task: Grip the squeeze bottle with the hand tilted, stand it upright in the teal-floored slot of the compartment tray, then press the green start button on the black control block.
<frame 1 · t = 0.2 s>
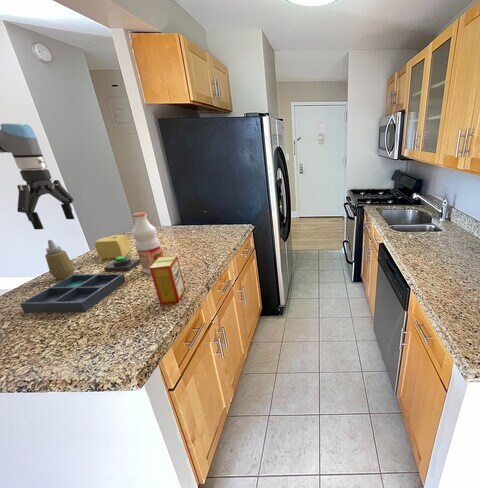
hand: (55, 223, 104), 27 cm above the countertop, tool pointing down, fingers open, 13 cm apart
compartment tray: (80, 295, 104), on the countertop
fruit juice: (155, 269, 125), on the countertop
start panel: (123, 267, 127), on the countertop
squeeze bottle: (65, 277, 118), on the countertop
cheese: (116, 255, 141), on the countertop
baking soda box: (173, 297, 103), on the countertop
start button: (120, 259, 125), point 4 cm above the countertop, slide at 0.1 cm
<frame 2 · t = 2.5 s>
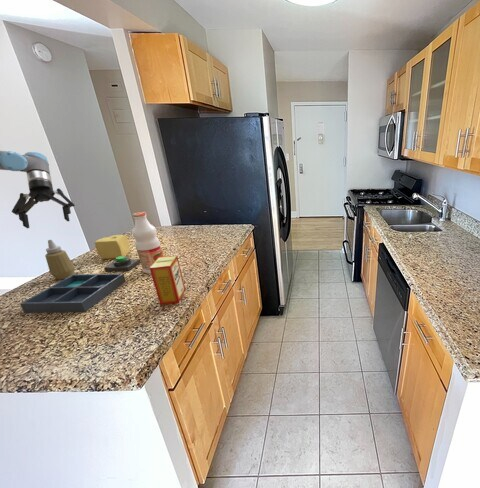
hand: (47, 223, 115), 24 cm above the countertop, tool tilted 40°, fingers open, 13 cm apart
nothing on the countertop moved.
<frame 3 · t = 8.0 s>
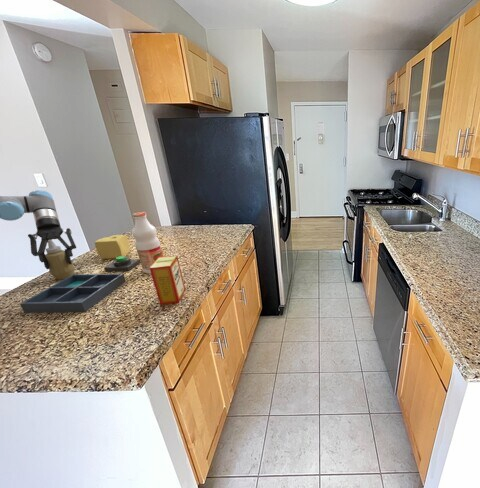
hand: (58, 265, 113), 7 cm above the countertop, tool tilted 45°, fingers closed on squeeze bottle, 6 cm apart
squeeze bottle: (65, 277, 118), on the countertop, touching gripper
everything else where it was.
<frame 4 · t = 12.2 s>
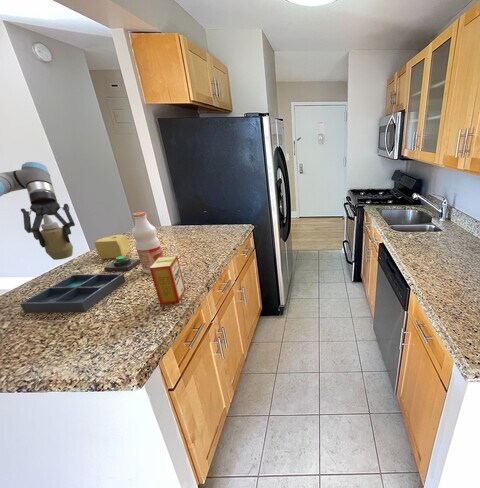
hand: (55, 243, 101), 20 cm above the countertop, tool tilted 45°, fingers closed on squeeze bottle, 6 cm apart
squeeze bottle: (63, 257, 107), point 13 cm above the countertop, touching gripper
everything else where it was.
when the fingers open (8 cm above the countertop, at t = 16.5 s): squeeze bottle stays where it is, resting on compartment tray.
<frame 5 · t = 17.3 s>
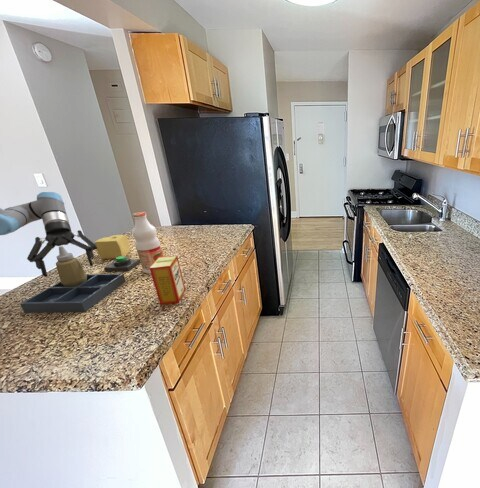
hand: (69, 270, 103), 10 cm above the countertop, tool tilted 45°, fingers open, 13 cm apart
squeeze bottle: (77, 286, 108), point 1 cm above the countertop, touching compartment tray
everything else where it was.
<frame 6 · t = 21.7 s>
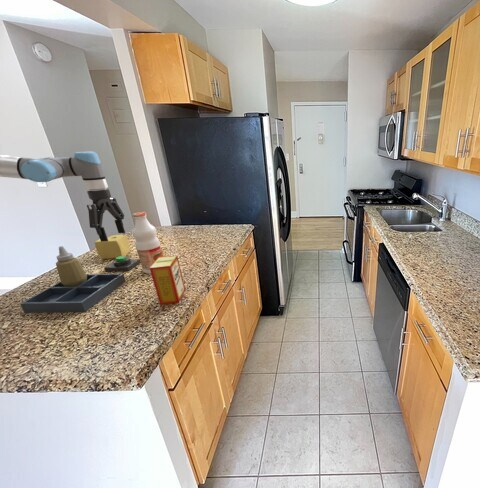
hand: (113, 236, 121), 16 cm above the countertop, tool pointing down, fingers open, 10 cm apart
nothing on the countertop moved.
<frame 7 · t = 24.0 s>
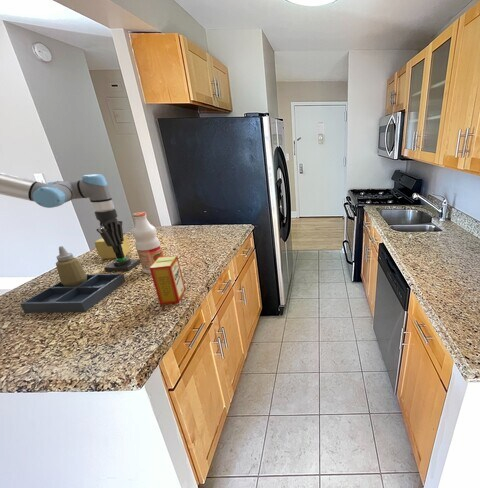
hand: (120, 257, 125), 5 cm above the countertop, tool pointing down, fingers closed
start button: (121, 259, 125), point 4 cm above the countertop, slide at -0.3 cm, touching gripper
everything else where it was.
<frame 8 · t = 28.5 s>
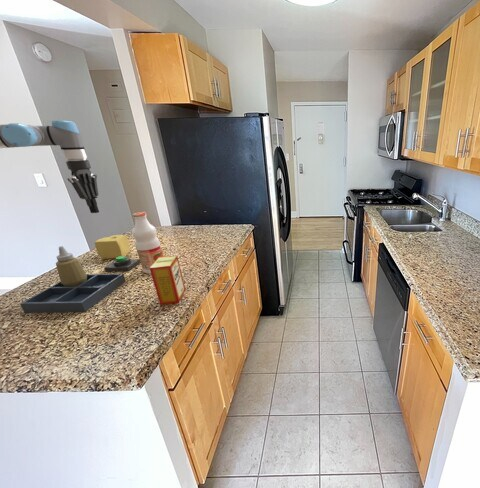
hand: (95, 212, 122), 26 cm above the countertop, tool pointing down, fingers closed
start button: (120, 259, 125), point 4 cm above the countertop, slide at 0.1 cm
everything else where it was.
at the end: squeeze bottle 0.1 cm from the target spot in the compartment tray, point 1.0 cm above the compartment tray's base; squeeze bottle tilted 0°; start button pushed in 1.0 cm at the most during the clip, back to where it started at the end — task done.
